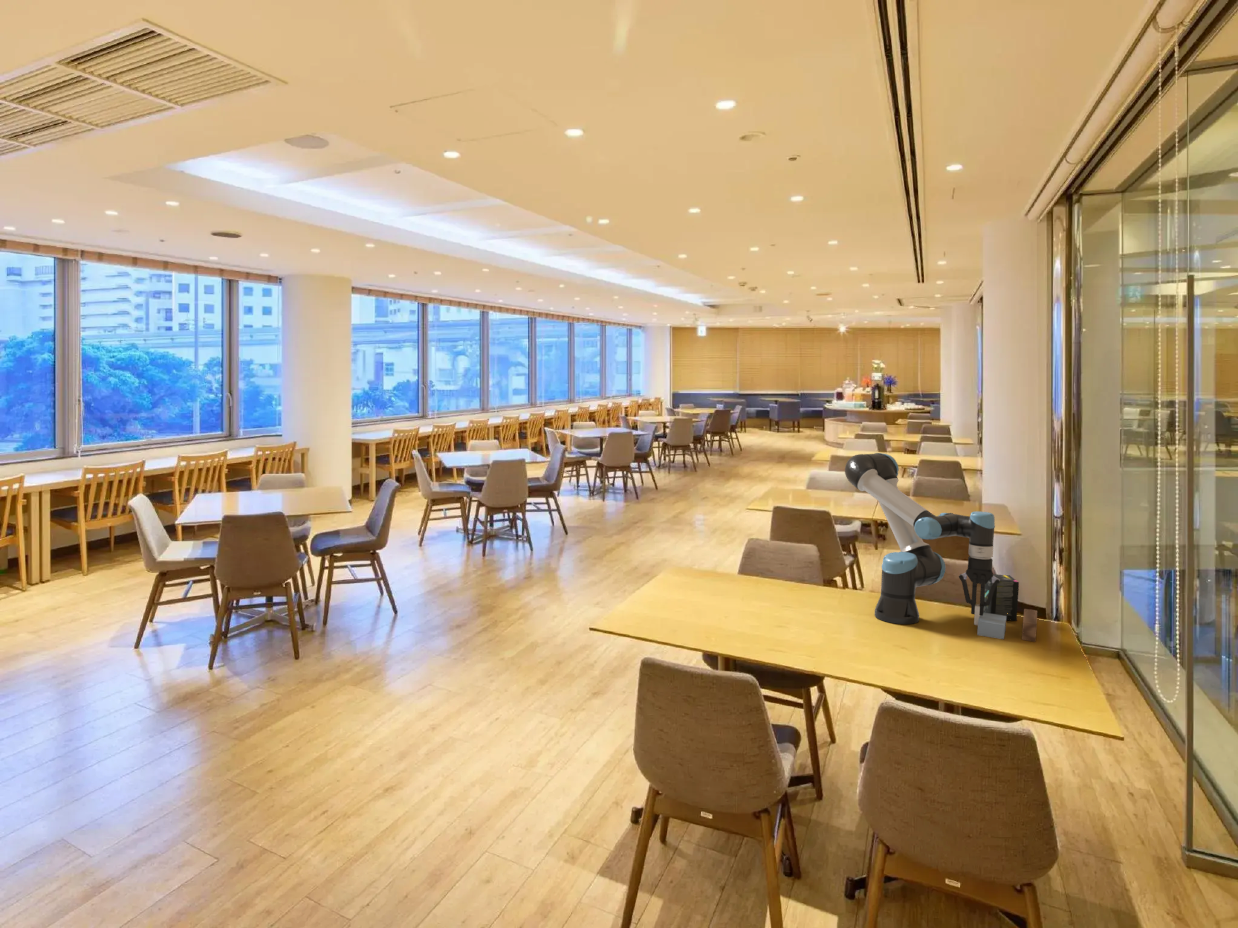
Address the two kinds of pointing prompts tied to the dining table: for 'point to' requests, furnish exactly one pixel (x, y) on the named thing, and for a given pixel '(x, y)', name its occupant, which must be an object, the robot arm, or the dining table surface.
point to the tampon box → (1003, 597)
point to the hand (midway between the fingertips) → (976, 623)
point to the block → (992, 625)
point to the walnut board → (1029, 625)
